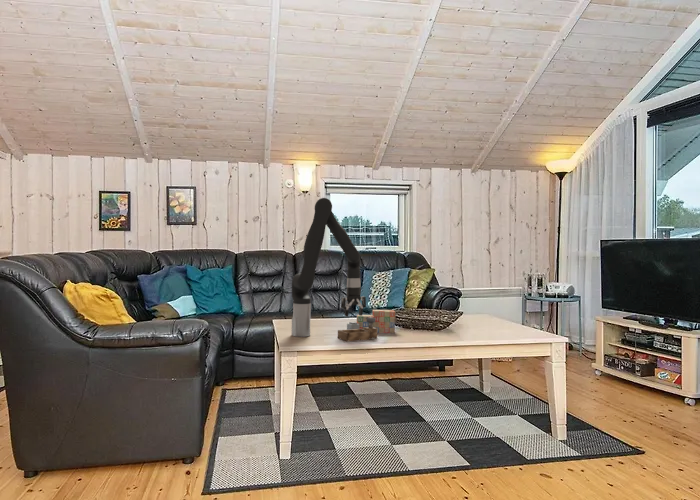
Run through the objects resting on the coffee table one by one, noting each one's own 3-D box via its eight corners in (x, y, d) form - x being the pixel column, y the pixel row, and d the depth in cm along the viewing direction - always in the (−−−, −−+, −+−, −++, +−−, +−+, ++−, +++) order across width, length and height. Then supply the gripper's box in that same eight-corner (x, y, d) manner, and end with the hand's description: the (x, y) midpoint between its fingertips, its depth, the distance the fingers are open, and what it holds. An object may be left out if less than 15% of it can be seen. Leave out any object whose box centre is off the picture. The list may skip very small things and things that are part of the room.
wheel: (369, 322, 262) (369, 317, 262) (364, 321, 266) (365, 316, 266) (376, 322, 264) (376, 317, 264) (372, 321, 268) (372, 316, 268)
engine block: (351, 335, 269) (351, 323, 269) (346, 334, 274) (347, 321, 274) (359, 335, 271) (359, 322, 271) (354, 333, 276) (355, 321, 276)
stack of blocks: (357, 332, 280) (357, 310, 280) (356, 330, 286) (356, 309, 286) (395, 333, 281) (395, 311, 281) (393, 331, 288) (393, 309, 288)
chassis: (346, 341, 252) (347, 325, 252) (337, 337, 262) (338, 322, 262) (379, 338, 262) (379, 323, 262) (369, 335, 271) (370, 320, 271)
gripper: (345, 287, 266) (345, 317, 266) (368, 286, 273) (368, 315, 273) (338, 286, 273) (338, 316, 273) (361, 285, 279) (361, 314, 280)
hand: (353, 315), depth 273 cm, fingers open, 8 cm apart
